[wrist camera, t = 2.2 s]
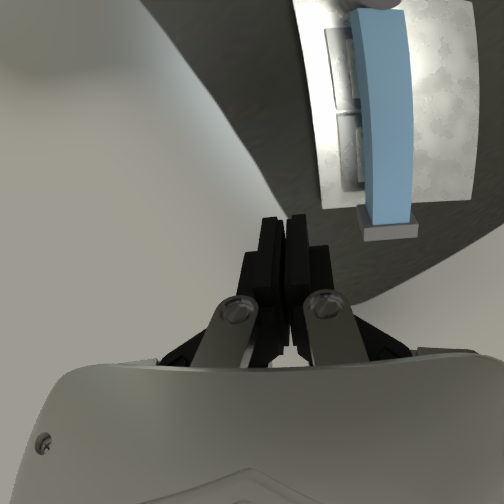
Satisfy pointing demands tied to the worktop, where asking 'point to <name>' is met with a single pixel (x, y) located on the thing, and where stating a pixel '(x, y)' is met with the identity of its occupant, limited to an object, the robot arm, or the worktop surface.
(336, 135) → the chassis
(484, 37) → the worktop surface
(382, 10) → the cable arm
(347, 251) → the worktop surface
